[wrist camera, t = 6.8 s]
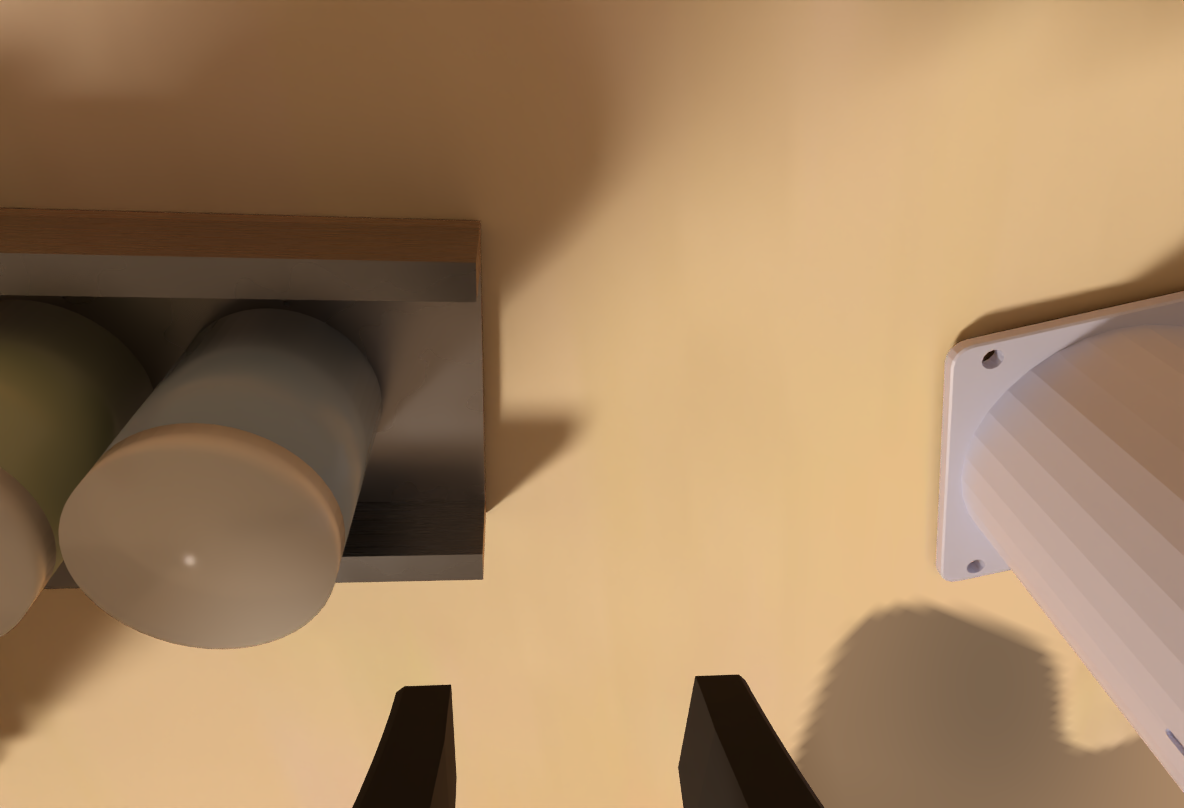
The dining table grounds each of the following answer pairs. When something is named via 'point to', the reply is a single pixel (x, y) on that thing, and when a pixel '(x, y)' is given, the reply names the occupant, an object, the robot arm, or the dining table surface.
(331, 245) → the lane
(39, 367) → the jar
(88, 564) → the jar
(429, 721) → the robot arm
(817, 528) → the dining table surface
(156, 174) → the dining table surface
